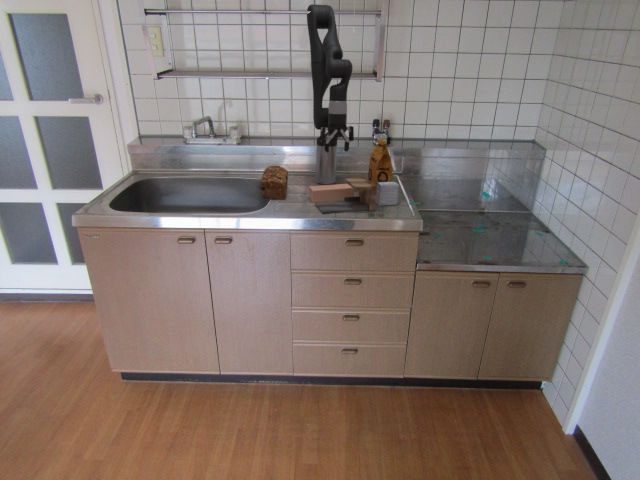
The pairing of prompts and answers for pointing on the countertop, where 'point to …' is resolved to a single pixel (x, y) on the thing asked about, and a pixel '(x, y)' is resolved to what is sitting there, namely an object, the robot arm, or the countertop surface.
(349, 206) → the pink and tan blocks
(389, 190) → the medicine box
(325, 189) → the rectangular block
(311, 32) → the robot arm
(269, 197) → the bread
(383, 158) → the coffee package
